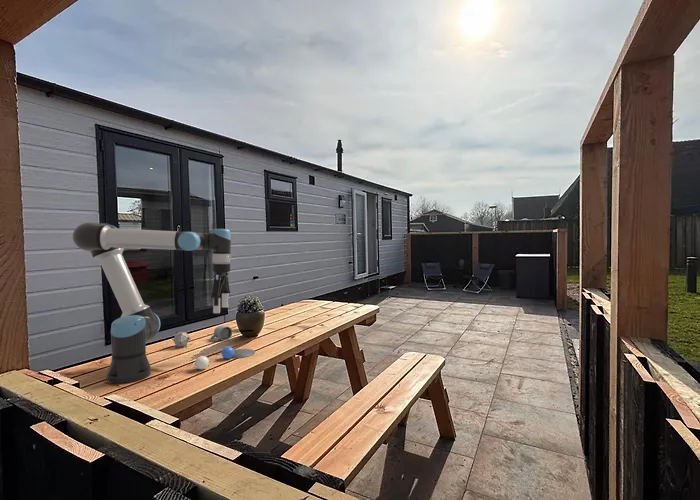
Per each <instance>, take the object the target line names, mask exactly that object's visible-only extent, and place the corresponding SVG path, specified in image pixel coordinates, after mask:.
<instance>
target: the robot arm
mask: <svg viewBox="0 0 700 500" xmlns="http://www.w3.org/2000/svg"><path fill="white" fill-rule="evenodd" d="M231 237H232V236H231V230H230V229H227V228H213V230H212V232H210V233H207V232H194V231H176V230H172V231H171V230H155V229H154V230H153V229H136V228H135V229H133V228H118V227H116V226H114V225H112V224H109V223H106V222H104V223H103V222H101V223H100V222H99V223H98V222H85V223H81V224H80V225H78V226H77V227H76V228H75V229H74V230H73V233H72V241H73V243H74V244H75V246H76V247H77V248H79V249H81V250H82V251H85V252H90V254H91V256H92V259H93V260H96V261H99V263H100V266H101V268H102V270H103V272H104V274H105V277H106V279H107V282H109V285H110V288H111V289H112V292H113V295H114V297H115V299H116V300H117V303H118V305H119V308H120V309H121V311H122V314H121V316H120V317H119V318H117V319H115V320H114V321H112V323H111V325H110V326H111V327H110V341H111V344H110V345H111V361H110V364H109V367H108V370H107V373H106V382H107V381H109V382H113V383H112V384H116V383H118V384H125V383H124V382H128V383H133V382H137V381H141V380H143V379H145V378H147V377H149V376H150V375H151V373H152V367H151V363H150V362H149V359H148V357H147V349H146V347H147V344H146V342H147V341H149V340H151V339H153V338H154V337H155V336H156V334H158V332H159V331H160V328H161V319H160V317H159V316H158V315H157V314H156V313H155V312H154V311H152V308H151V306H150V305H148V304H145V303H144V301H143V298H142V296H141V294H140V292H139V290H138V287H137V285H136V283H135V281H134V278H133V276H132V274H131V271H130V269H129V267H128V265H127V262H126V261H125V258H124V256H123V253H124V250H125V249H144V250H145V249H150V250H151V249H152V250H175V251H187V252H188V251H189V252H190V251H192V252H193V251H198V250H199V251H201V250H202V251H203V250H206V251H207V250H208V251H211V250H212V272H213V273H216V274H214V277H213V285H212V291H211V292H212V293H211V296H210V298H211V299H212V300H213V301H212V304H213V305H212V308H213V309H212V314H220V313H221V308H229V294H231V290H230V283H229V273H230V272H231V264H230V262H231V259H232V258H233V257H232V255H231V250H232V249H231V245H232V238H231ZM221 291H222V292H221ZM220 296H221V297H220ZM132 381H133V382H132ZM109 382H108V383H109Z"/></svg>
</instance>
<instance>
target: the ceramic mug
mask: <svg viewBox="0 0 700 500" xmlns="http://www.w3.org/2000/svg"><path fill="white" fill-rule="evenodd" d="M232 336H233V329H232V328H231V327H230V326H227V325H218V326H217V327H215V328H214V331H213V335H212V336H211V337H210V338H209V340H210V342H212V343H214V342H217V341H218V340H220V341H223V342H224V341H225V342H226V341H229V340H230V339H231V338H232Z"/></svg>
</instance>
